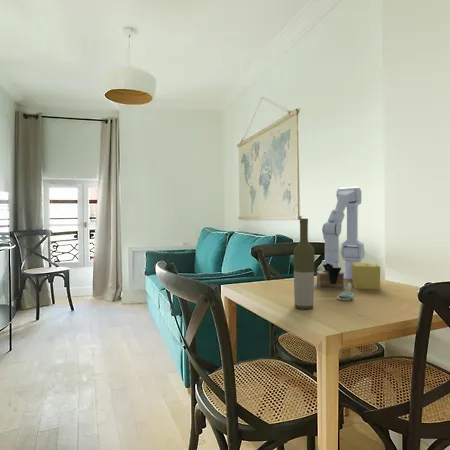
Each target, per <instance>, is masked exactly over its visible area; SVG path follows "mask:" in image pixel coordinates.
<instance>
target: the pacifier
mask: <svg viewBox="0 0 450 450" xmlns="http://www.w3.org/2000/svg"><path fill="white" fill-rule="evenodd" d="M346 286H347V288H346V289H345V291H343V292H342V293H340V294H339V295H337V296H336V300H339V301H351V299H353V298H354V297H355V293H354V292H353V291H351V289H352V284H351V283H350V282H348V283H347V285H346Z"/></svg>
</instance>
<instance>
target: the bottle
mask: <svg viewBox="0 0 450 450" xmlns="http://www.w3.org/2000/svg"><path fill="white" fill-rule="evenodd" d="M308 237H309V218H299V242H298V243H297V244H296V245H295V247H293V251H292V252H293V253H292V254H293V283H294V284H293V289H294V290H293V292H294V297H293V298H294V307H295V308H297V309H300V310H310V309H313V307H314V301H315V300H314V299H315V298H314V294H315V293H314V291H315V247H313V246H312V244H311V243H310V242H309V238H308Z"/></svg>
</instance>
